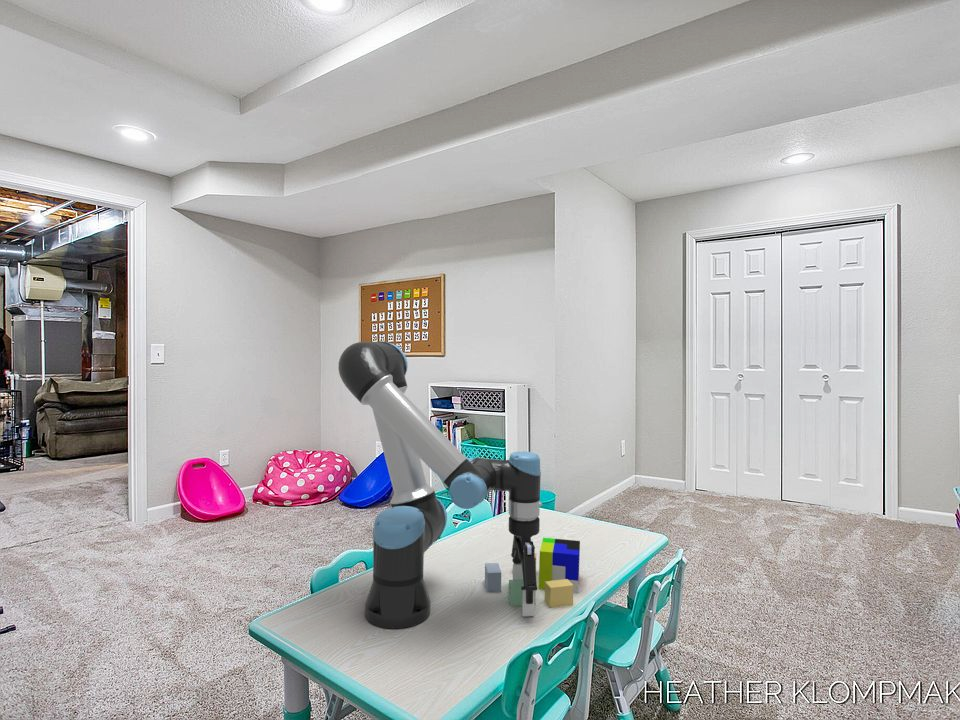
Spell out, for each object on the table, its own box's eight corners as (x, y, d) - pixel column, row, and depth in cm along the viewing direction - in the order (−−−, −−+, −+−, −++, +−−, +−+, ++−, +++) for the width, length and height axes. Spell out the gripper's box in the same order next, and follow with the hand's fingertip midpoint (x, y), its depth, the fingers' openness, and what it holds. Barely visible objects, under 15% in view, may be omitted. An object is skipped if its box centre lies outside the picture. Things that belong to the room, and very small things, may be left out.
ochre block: (550, 608, 134) (550, 587, 134) (544, 601, 137) (545, 581, 137) (572, 605, 135) (573, 585, 135) (566, 598, 139) (567, 579, 139)
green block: (510, 606, 134) (511, 586, 134) (508, 599, 138) (508, 579, 137) (535, 605, 135) (535, 585, 135) (532, 598, 138) (532, 579, 138)
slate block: (501, 591, 142) (501, 572, 142) (487, 592, 141) (487, 572, 141) (497, 581, 148) (498, 562, 148) (484, 581, 147) (485, 563, 147)
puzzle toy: (577, 593, 142) (579, 555, 141) (538, 589, 144) (539, 551, 143) (578, 577, 151) (580, 541, 151) (542, 573, 153) (543, 537, 153)
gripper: (551, 533, 123) (549, 627, 124) (529, 500, 148) (527, 578, 149) (518, 534, 123) (516, 628, 123) (501, 501, 147) (500, 579, 148)
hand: (522, 601), depth 136 cm, fingers open, 13 cm apart
